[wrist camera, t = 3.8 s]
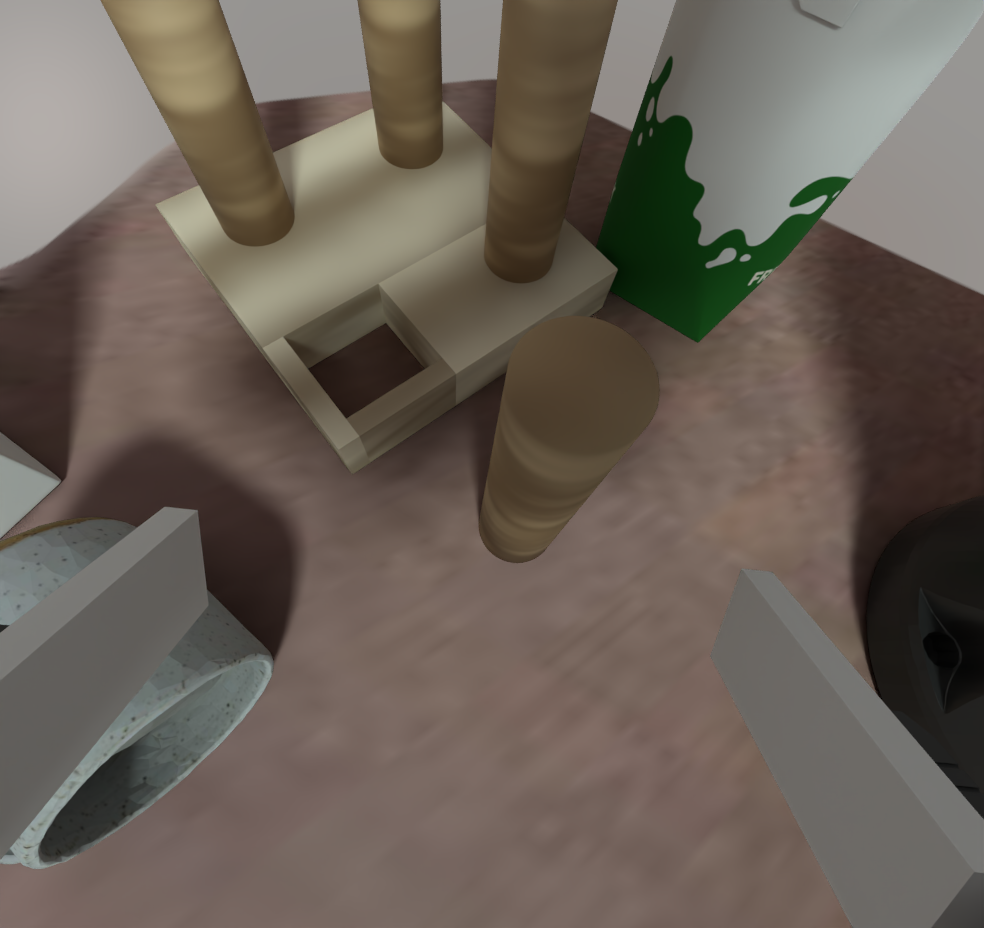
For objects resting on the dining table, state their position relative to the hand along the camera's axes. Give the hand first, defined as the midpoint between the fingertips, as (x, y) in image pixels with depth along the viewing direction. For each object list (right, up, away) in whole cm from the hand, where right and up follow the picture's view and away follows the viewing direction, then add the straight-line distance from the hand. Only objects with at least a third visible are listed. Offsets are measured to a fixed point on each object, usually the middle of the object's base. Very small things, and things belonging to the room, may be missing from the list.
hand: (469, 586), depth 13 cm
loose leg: (+2, 0, +11) cm, 11 cm away
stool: (-5, +13, +15) cm, 20 cm away
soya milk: (+11, +14, +17) cm, 24 cm away
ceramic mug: (-13, -6, +8) cm, 16 cm away
